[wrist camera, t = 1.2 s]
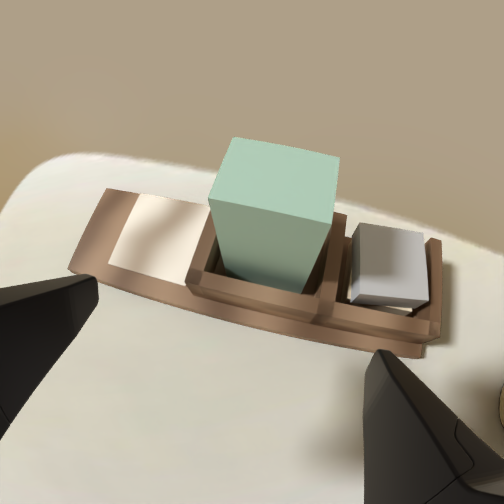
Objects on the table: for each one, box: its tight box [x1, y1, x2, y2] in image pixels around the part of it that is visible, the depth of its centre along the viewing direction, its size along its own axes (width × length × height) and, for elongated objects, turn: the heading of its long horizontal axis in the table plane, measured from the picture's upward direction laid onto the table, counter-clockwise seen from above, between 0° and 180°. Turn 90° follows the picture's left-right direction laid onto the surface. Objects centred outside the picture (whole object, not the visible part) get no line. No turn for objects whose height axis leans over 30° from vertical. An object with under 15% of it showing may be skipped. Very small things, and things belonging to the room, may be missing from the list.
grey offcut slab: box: [351, 223, 429, 309], centre depth 19 cm, size 5×5×2 cm
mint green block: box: [208, 137, 340, 294], centre depth 18 cm, size 6×4×10 cm
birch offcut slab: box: [340, 240, 412, 316], centre depth 21 cm, size 5×5×2 cm
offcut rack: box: [67, 188, 442, 359], centre depth 22 cm, size 30×8×4 cm, turn 76°
